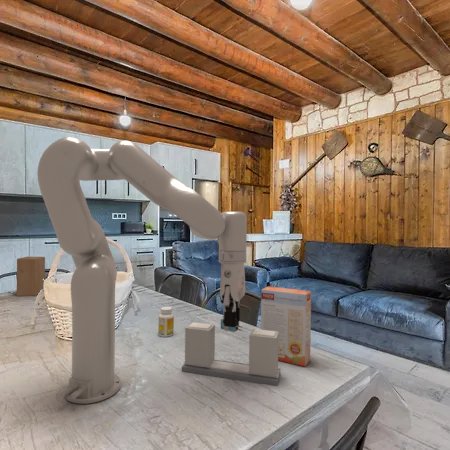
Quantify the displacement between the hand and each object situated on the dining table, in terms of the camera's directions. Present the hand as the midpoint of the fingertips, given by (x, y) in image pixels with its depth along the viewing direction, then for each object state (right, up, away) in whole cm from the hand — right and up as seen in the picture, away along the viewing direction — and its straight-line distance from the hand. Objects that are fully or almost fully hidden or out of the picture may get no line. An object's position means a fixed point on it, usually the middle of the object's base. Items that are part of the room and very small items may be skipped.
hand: (231, 323), depth 86 cm
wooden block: (-108, -11, +86) cm, 138 cm away
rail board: (0, -13, 0) cm, 13 cm away
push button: (0, -2, 0) cm, 2 cm away
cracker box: (+16, -14, +9) cm, 23 cm away
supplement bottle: (-23, -13, +28) cm, 38 cm away
